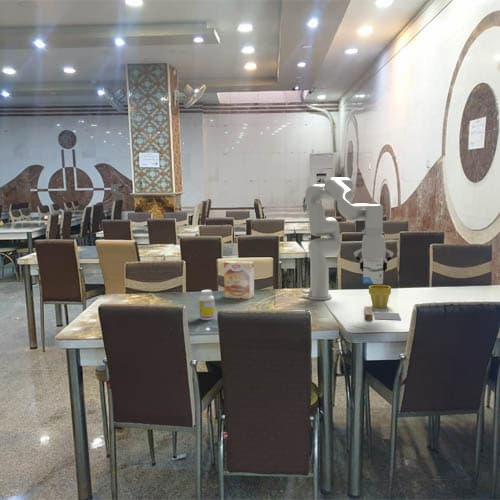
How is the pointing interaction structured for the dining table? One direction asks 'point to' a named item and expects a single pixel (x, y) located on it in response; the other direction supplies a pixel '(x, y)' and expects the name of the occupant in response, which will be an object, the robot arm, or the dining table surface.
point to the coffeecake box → (239, 279)
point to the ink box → (373, 271)
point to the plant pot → (379, 295)
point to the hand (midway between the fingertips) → (373, 271)
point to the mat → (387, 316)
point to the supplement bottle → (207, 305)
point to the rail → (368, 313)
